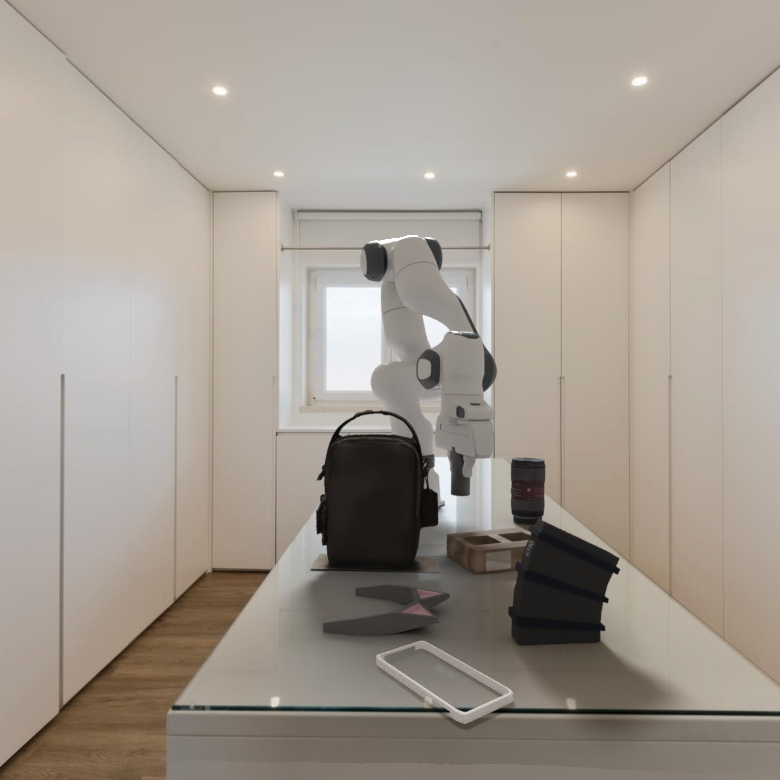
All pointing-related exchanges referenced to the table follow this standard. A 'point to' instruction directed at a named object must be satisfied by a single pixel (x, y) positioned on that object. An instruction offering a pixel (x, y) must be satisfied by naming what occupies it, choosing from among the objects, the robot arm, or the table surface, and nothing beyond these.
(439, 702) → the phone case
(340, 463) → the shoulder bag
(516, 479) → the camera lens
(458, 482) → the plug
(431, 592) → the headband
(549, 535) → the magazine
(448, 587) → the table surface
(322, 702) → the table surface
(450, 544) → the socket block
